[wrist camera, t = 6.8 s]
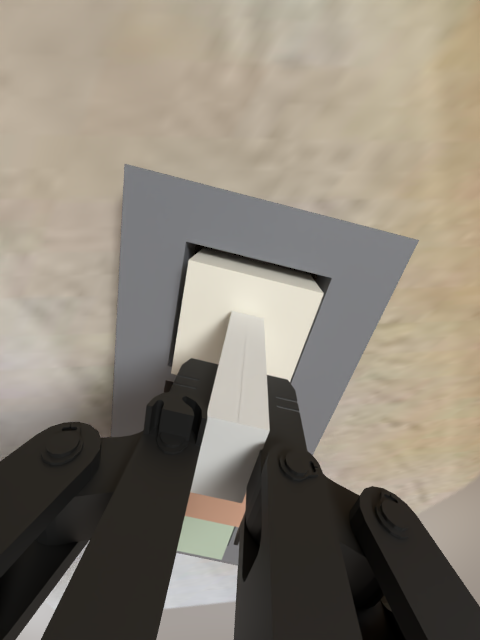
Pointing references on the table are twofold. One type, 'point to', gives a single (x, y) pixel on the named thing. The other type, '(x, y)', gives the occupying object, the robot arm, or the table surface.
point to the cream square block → (244, 308)
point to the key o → (204, 537)
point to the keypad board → (255, 242)
